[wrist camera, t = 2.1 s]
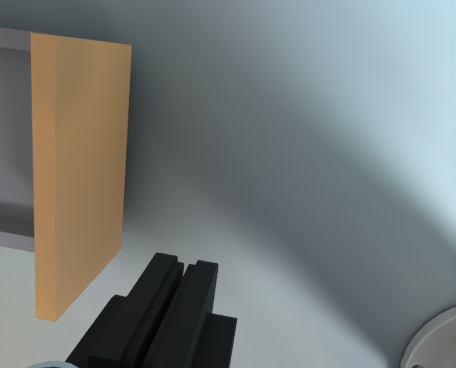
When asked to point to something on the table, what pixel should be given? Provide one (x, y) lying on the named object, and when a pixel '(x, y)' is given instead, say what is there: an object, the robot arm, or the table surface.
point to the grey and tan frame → (62, 157)
